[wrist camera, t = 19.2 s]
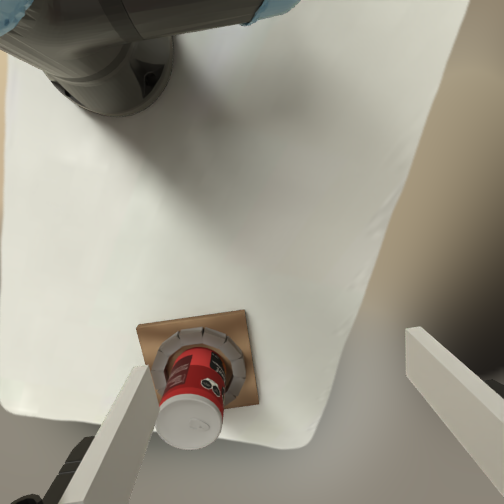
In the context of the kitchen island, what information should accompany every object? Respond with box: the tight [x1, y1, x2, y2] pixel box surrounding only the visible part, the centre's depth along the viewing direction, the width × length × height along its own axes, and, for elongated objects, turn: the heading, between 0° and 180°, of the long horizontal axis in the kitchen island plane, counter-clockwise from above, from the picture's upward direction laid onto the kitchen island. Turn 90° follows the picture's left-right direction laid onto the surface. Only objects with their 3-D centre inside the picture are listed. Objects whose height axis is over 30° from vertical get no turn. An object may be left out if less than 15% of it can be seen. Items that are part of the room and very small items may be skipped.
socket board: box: [136, 310, 259, 409], centre depth 47 cm, size 16×16×3 cm
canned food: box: [155, 347, 226, 450], centre depth 42 cm, size 8×8×11 cm
